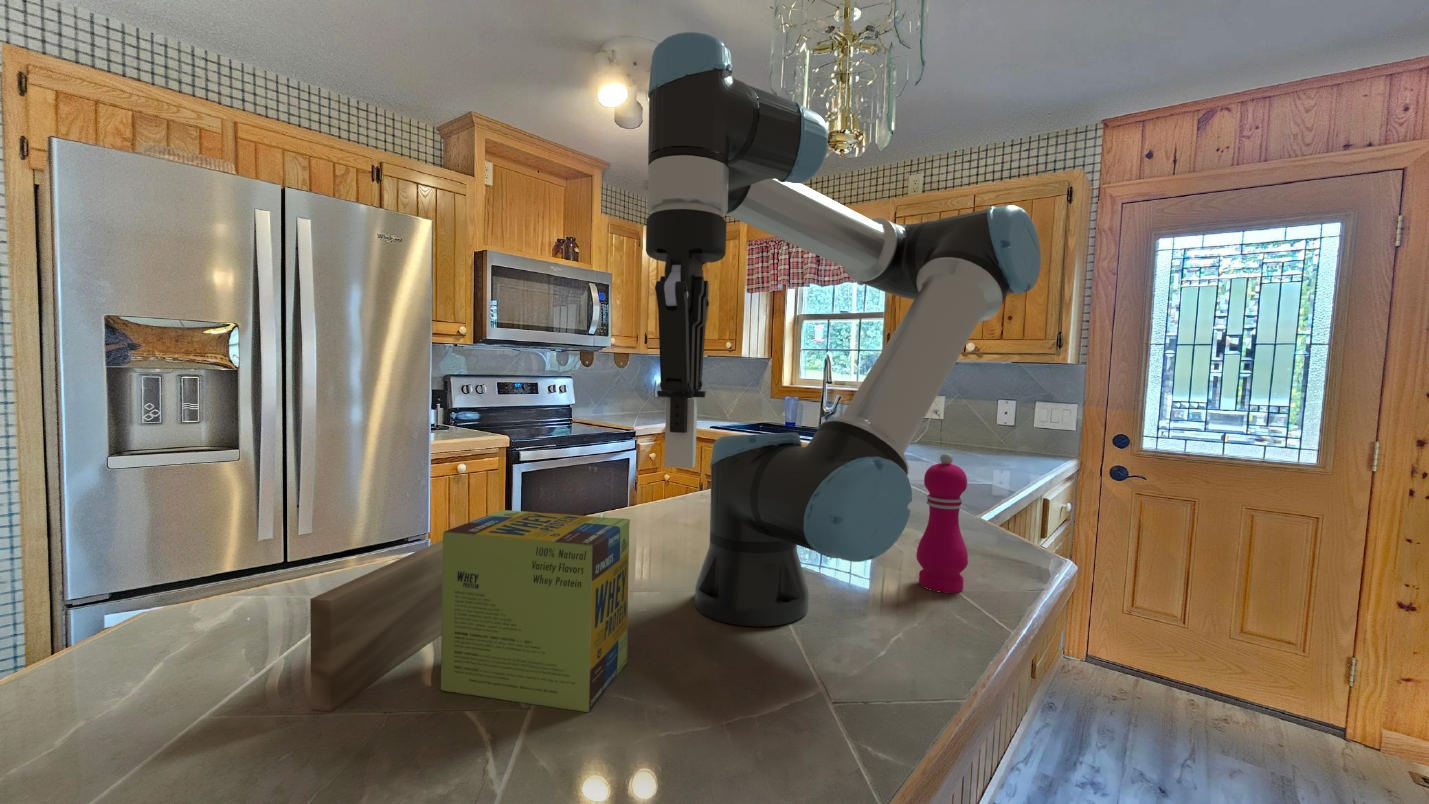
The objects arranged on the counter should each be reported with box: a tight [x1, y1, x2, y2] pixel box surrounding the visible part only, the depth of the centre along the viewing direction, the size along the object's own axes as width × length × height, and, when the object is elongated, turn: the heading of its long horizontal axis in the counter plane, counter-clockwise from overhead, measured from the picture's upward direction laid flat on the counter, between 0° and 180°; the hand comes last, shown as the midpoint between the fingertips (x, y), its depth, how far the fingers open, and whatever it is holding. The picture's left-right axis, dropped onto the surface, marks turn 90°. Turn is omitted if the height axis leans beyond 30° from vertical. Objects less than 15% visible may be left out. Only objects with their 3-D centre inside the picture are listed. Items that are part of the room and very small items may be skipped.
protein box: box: [440, 509, 631, 713], centre depth 62 cm, size 10×15×16 cm
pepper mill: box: [916, 452, 969, 594], centre depth 93 cm, size 7×7×20 cm
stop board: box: [309, 539, 443, 713], centre depth 65 cm, size 2×20×10 cm, turn 171°
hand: (680, 465), depth 59 cm, fingers closed
